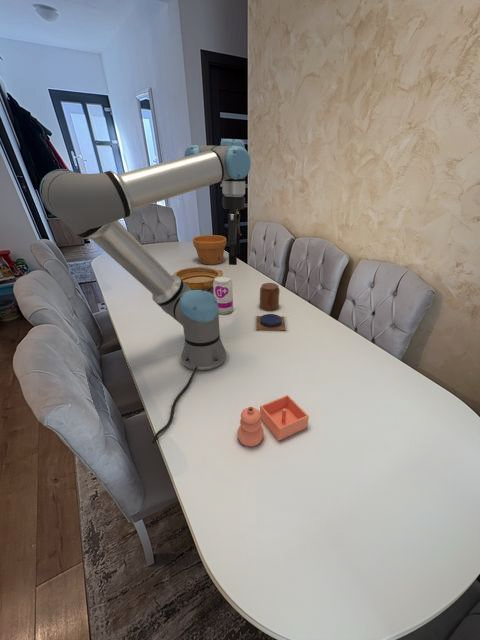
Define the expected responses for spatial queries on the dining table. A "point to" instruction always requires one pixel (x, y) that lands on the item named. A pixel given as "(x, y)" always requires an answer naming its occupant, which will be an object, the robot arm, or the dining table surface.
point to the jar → (269, 297)
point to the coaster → (263, 328)
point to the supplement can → (223, 294)
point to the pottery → (271, 421)
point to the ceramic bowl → (199, 277)
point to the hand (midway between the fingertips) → (234, 259)
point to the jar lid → (270, 320)
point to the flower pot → (210, 248)
